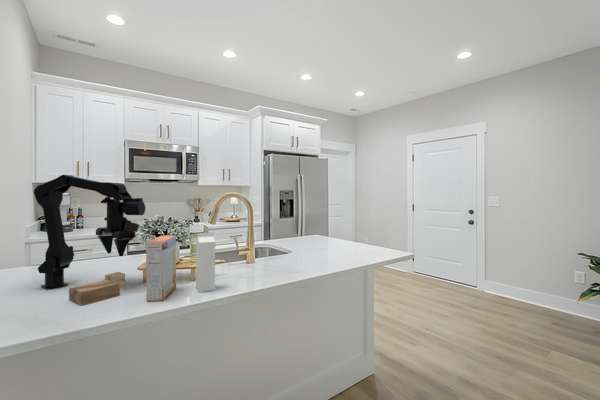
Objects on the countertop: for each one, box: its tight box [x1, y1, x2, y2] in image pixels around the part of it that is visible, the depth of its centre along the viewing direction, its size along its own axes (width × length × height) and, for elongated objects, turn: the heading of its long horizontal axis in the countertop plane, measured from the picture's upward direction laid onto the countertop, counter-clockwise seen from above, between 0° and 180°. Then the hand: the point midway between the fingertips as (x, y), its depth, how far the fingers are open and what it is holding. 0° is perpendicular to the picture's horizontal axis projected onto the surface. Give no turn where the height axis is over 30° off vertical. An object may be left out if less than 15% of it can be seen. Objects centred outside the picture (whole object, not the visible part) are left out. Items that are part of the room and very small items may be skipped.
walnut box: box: [68, 279, 121, 306], centre depth 103 cm, size 9×12×4 cm
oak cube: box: [104, 271, 126, 288], centre depth 115 cm, size 5×5×5 cm
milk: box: [195, 232, 216, 294], centre depth 114 cm, size 6×6×22 cm
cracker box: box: [145, 234, 177, 302], centre depth 107 cm, size 14×6×21 cm, turn 5°
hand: (115, 254), depth 115 cm, fingers open, 9 cm apart
